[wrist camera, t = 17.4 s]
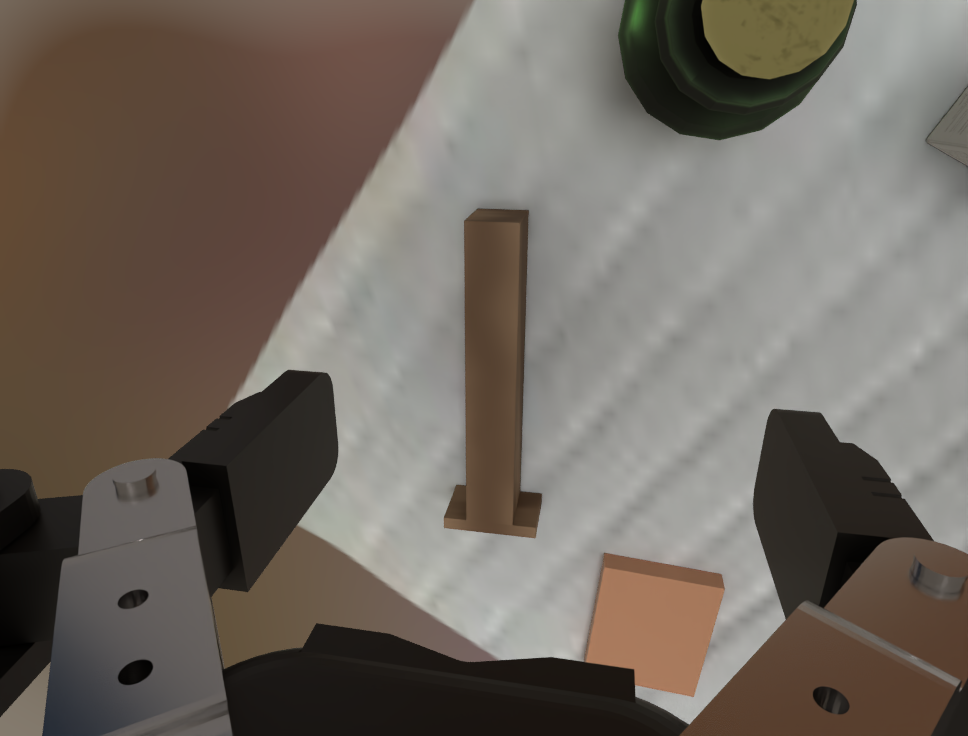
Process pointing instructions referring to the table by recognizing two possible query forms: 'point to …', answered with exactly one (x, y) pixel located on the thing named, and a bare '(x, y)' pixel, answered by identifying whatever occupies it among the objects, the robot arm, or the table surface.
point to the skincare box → (953, 131)
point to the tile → (654, 621)
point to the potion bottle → (728, 59)
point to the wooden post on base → (494, 378)
